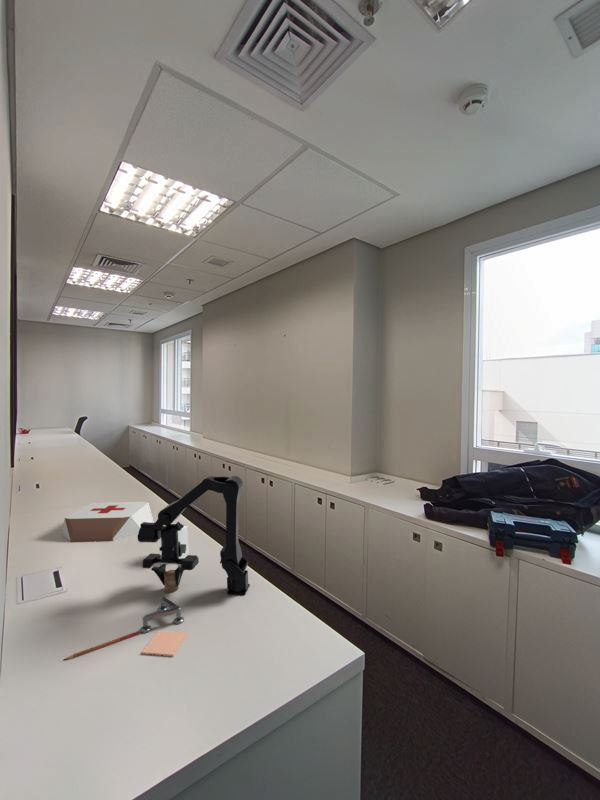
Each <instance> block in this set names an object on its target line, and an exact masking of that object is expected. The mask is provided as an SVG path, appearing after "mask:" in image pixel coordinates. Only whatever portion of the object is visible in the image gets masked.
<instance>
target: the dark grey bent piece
mask: <svg viewBox="0 0 600 800" xmlns="http://www.w3.org/2000/svg"><path fill="white" fill-rule="evenodd" d="M159 603H160V606H159V607H158V608H157V612H154V613H153V612H152V613H149V614H145V615H144V616H142V625H143V626H142V627H140V628H139V633H141V634H147V633H150V631H152V626H151V625H150V624H148V622H149V621H150V622H151V621H153V620H156V619H161V618H164V617H169V616H173V615H176V617H175V618H174V619H173V624H175V625H180V624H182V623H184V621H185V617H183V616H182V615H181V614H182V613H181V610H182V609H181V606H179V605H177V604H176V603H174V602H173V601H171V600H170V599H168V598H166V597H165V596H162V597H160V598H159ZM168 608H169V609H168Z"/></svg>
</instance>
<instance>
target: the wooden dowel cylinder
mask: <svg viewBox="0 0 600 800" xmlns="http://www.w3.org/2000/svg"><path fill="white" fill-rule="evenodd" d="M175 570H176V569H169V570H166V572H165V573H164V585H163V586H164V592H165V593H167V594H173V593H175V592H177V591H178V590H179V585H178V586H177V585H176V578H175Z"/></svg>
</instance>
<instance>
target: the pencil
mask: <svg viewBox="0 0 600 800" xmlns="http://www.w3.org/2000/svg"><path fill="white" fill-rule="evenodd" d="M139 635H140V630H139V631H136V632H132V633H130V634H127V635H124V636H121V637H118V638H115V639H112V640H110V641H109V640H108V641H106V642H103V643H101V644H98V645H95V646H93V647H89V648H88V649H87V648H86V649H84V650H81V651H78V652H76V653H73V654H71V655H69V656H67V657H65V658H64V659H63V661H68V660H72V659H75V658H78V657H80V656H84V655H86V654H89V653H92V652H94V651H97V650H100V649H102V648H106V647H108V646H111V645H114V644H117V643H119V642H122V641H125V640H128V639H131V638H133V637H136V636H139Z"/></svg>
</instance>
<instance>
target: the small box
mask: <svg viewBox="0 0 600 800" xmlns="http://www.w3.org/2000/svg"><path fill="white" fill-rule="evenodd" d="M188 533H189V531H188V526H187V525H184V527H183V528H182V529H181V530H180V531H178V542H180V544H186V552H185V553H182V556H181V557H179V559H182V558H185V557H186V556H187V555H190V554H189V553H190V552H189V534H188Z"/></svg>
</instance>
